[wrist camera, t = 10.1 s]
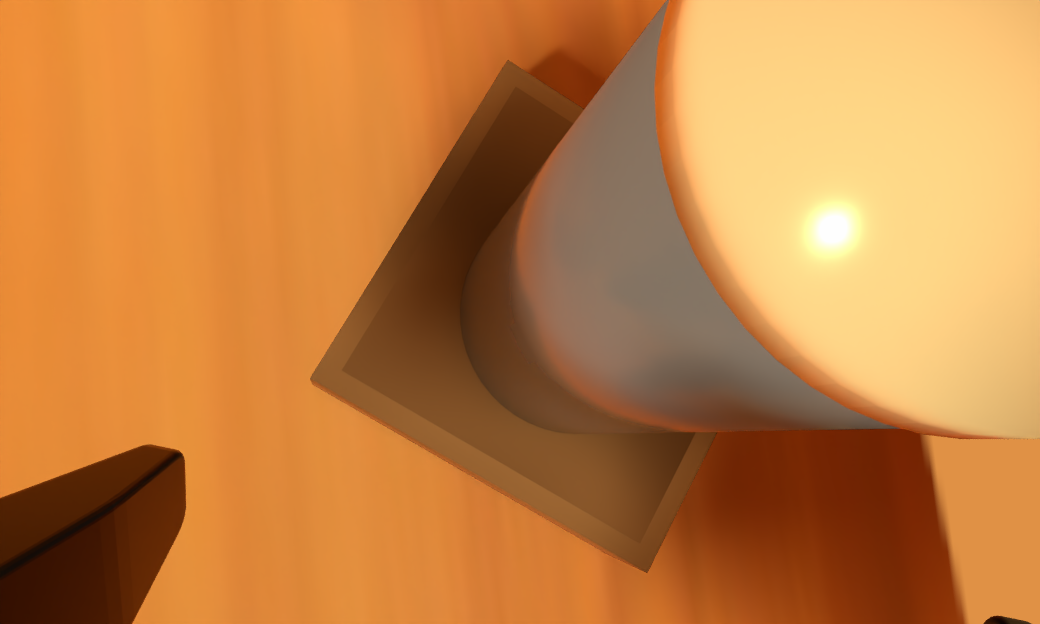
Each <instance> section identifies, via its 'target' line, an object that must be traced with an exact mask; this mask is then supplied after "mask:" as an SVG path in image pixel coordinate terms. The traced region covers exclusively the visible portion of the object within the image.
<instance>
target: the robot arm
mask: <svg viewBox="0 0 1040 624" xmlns="http://www.w3.org/2000/svg"><path fill="white" fill-rule="evenodd" d="M185 510H186V485H185V460H184V456H183V454H182V453H181V452H180V451H178V450H175V449H170V448H165V447H160V446H156V445H143V446H140V447H137V448H134V449H132V450H129V451H126V452H124V453H121V454H118V455H115V456H113V457H110V458H107V459H105V460H102V461H99V462H97V463H94V464H91V465H88V466H86V467H83V468H80V469H78V470H75V471H72V472H70V473H67V474H64V475H61V476H59V477H56V478H53V479H51V480H48V481H45V482H42V483H40V484H37V485H34V486H32V487H29V488H26V489H24V490H21V491H18V492H15V493H13V494H10V495H7V496H5V497H2V498H0V624H132V623H133V621H134V619H135V617H136V615H137V613H138V611H139V609H140V607H141V605H142V604H143V602H144V600H145V598H146V596H147V594H148V592H149V590H150V588H151V586H152V584H153V582H154V580H155V578H156V576H157V574H158V572H159V570H160V568H161V566H162V564H163V562H164V560H165V559H166V557H167V555H168V553H169V551H170V549H171V547H172V545H173V543H174V541H175V539H176V537H177V535H178V533H179V531H180V529H181V526H182V523H183V520H184V516H185ZM984 624H1031V623H1029V622H1026V621H1022V620H1017V619H1012V618H1007V617H1003V616H993V617H990V618H989V619H987V620H986V621H985V622H984Z"/></svg>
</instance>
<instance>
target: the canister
mask: <svg viewBox="0 0 1040 624" xmlns="http://www.w3.org/2000/svg"><path fill="white" fill-rule="evenodd" d="M460 325H461V332H462V338H463V342H464V346H465V349H466V353H467V355H468V358H469V360H470V362H471V365H472V367H473V369H474V371H475V373H476V374H477V376H478V378H479V379H480V381H481V383H482V384H483V385H484V386H485V388H486V389H487V390H488V391H489V393H490V394H491V395H492V396H493V397H494V398H495V399H496V400H497V401H498V402H499V403H500V404H501V405H502V406H503V407H505V408H506V409H507V410H509V411H510V412H511V413H513V414H514V415H515V416H517V417H519V418H521V419H522V420H524V421H526V422H528V423H530V424H532V425H535V426H537V427H540V428H542V429H546V430H550V431H554V432H558V433H566V434H618V433H674V432H730V431H786V430H843V429H899V428H901V429H905V430H909V431H912V432H916V433H920V434H925V435H934V436H941V437H950V438H958V439H1040V0H667V1H666V2H665V3H664V5H663V6H662V7H661V9H660V10H659V11H658V13H657V14H656V15H655V17H654V18H653V19H652V21H651V22H650V23H649V24H648V26H647V27H646V28H645V30H644V31H643V32H642V34H641V35H640V36H639V38H638V39H637V40H636V42H635V43H634V44H633V46H632V47H631V48H630V50H629V51H628V52H627V54H626V55H625V56H624V58H623V59H622V60H621V62H620V63H619V64H618V66H617V67H616V68H615V70H614V71H613V72H612V74H611V75H610V76H609V78H608V79H607V80H606V82H605V83H604V84H603V85H602V87H601V88H600V89H599V91H598V92H597V93H596V95H595V96H594V97H593V99H592V100H591V101H590V103H589V104H588V105H587V107H586V108H585V109H584V111H583V112H582V113H581V115H580V116H579V117H578V119H577V120H576V121H575V123H574V124H573V125H572V127H571V128H570V129H569V131H568V132H567V133H566V135H565V136H564V137H563V139H562V140H561V141H560V143H559V144H558V145H557V147H556V148H555V149H554V150H553V152H552V153H551V154H550V156H549V157H548V158H547V160H546V161H545V162H544V164H543V165H542V166H541V168H540V169H539V170H538V172H537V173H536V174H535V176H534V177H533V178H532V180H531V181H530V182H529V184H528V185H527V186H526V188H525V189H524V190H523V192H522V193H521V194H520V196H519V197H518V198H517V200H516V201H515V202H514V204H513V205H512V206H511V208H510V209H509V210H508V211H507V213H506V214H505V215H504V217H503V218H502V219H501V221H500V222H499V223H498V225H497V226H496V227H495V229H494V230H493V231H492V233H491V234H490V235H489V237H488V238H487V239H486V241H485V242H484V243H483V245H482V246H481V247H480V249H479V250H478V252H477V254H476V255H475V257H474V259H473V261H472V262H471V265H470V267H469V270H468V272H467V275H466V277H465V281H464V285H463V289H462V294H461V303H460Z"/></svg>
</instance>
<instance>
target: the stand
mask: <svg viewBox="0 0 1040 624" xmlns="http://www.w3.org/2000/svg"><path fill="white" fill-rule="evenodd" d="M583 111H584V109H583V108H582V107H580V106H578V105H577V104H575V103H574V102H572V101H571V100H569V99H568V98H566V97H565V96H563V95H561V94H560V93H558V92H557V91H555V90H554V89H552V88H551V87H549V86H548V85H546V84H544V83H543V82H541V81H540V80H538V79H537V78H535V77H534V76H532V75H531V74H529V73H527V72H526V71H524V70H523V69H521V68H520V67H518V66H517V65H515V64H513V63H512V62H510V61H509V60H507V62H506V64H505V65H504V67H503V68H502V70H501V72H500V73H499V75H498V76H497V78H496V80H495V81H494V83H493V84H492V86H491V88H490V89H489V91H488V93H487V94H486V96H485V97H484V99H483V101H482V102H481V104H480V105H479V107H478V109H477V110H476V112H475V113H474V115H473V117H472V118H471V120H470V122H469V123H468V125H467V126H466V128H465V130H464V131H463V133H462V134H461V136H460V138H459V139H458V141H457V142H456V144H455V146H454V147H453V149H452V151H451V152H450V154H449V155H448V157H447V159H446V160H445V162H444V163H443V165H442V167H441V168H440V170H439V171H438V173H437V175H436V176H435V178H434V180H433V181H432V183H431V184H430V186H429V188H428V189H427V191H426V192H425V194H424V196H423V197H422V199H421V200H420V202H419V204H418V205H417V207H416V209H415V210H414V212H413V213H412V215H411V217H410V218H409V220H408V221H407V223H406V225H405V226H404V228H403V229H402V231H401V233H400V234H399V236H398V238H397V239H396V241H395V242H394V244H393V246H392V247H391V249H390V250H389V252H388V254H387V255H386V257H385V258H384V260H383V262H382V263H381V265H380V267H379V268H378V270H377V271H376V273H375V275H374V276H373V278H372V279H371V281H370V283H369V284H368V286H367V287H366V289H365V291H364V292H363V294H362V296H361V297H360V299H359V300H358V302H357V304H356V305H355V307H354V308H353V310H352V312H351V313H350V315H349V316H348V318H347V320H346V321H345V323H344V325H343V326H342V328H341V329H340V331H339V333H338V334H337V336H336V337H335V339H334V341H333V342H332V344H331V345H330V347H329V349H328V350H327V352H326V354H325V355H324V357H323V358H322V360H321V362H320V363H319V365H318V366H317V368H316V370H315V371H314V373H313V374H312V376H311V378H310V379H311V382H312V384H313V385H314V386H316V387H318V388H320V389H321V390H323V391H325V392H327V393H328V394H330V395H332V396H334V397H335V398H337V399H339V400H340V401H342V402H344V403H346V404H347V405H349V406H351V407H353V408H354V409H356V410H358V411H360V412H361V413H363V414H365V415H367V416H368V417H370V418H372V419H373V420H375V421H377V422H379V423H380V424H382V425H384V426H386V427H387V428H389V429H391V430H393V431H394V432H396V433H398V434H399V435H401V436H403V437H405V438H406V439H408V440H410V441H412V442H413V443H415V444H417V445H419V446H420V447H422V448H424V449H426V450H427V451H429V452H431V453H432V454H434V455H436V456H438V457H439V458H441V459H443V460H445V461H446V462H448V463H450V464H452V465H453V466H455V467H457V468H458V469H460V470H462V471H464V472H465V473H467V474H469V475H471V476H472V477H474V478H476V479H478V480H479V481H481V482H483V483H485V484H486V485H488V486H490V487H491V488H493V489H495V490H497V491H498V492H500V493H502V494H504V495H505V496H507V497H509V498H511V499H512V500H514V501H516V502H517V503H519V504H521V505H523V506H524V507H526V508H528V509H530V510H531V511H533V512H535V513H537V514H538V515H540V516H542V517H544V518H545V519H547V520H549V521H550V522H552V523H554V524H556V525H557V526H559V527H561V528H563V529H564V530H566V531H568V532H570V533H571V534H573V535H575V536H577V537H578V538H580V539H582V540H583V541H585V542H587V543H589V544H590V545H592V546H594V547H596V548H597V549H599V550H601V551H603V552H604V553H606V554H608V555H610V556H612V557H614V558H616V559H618V560H621V561H623V562H625V563H627V564H629V565H631V566H633V567H636V568H638V569H640V570H642V571H644V572H646V573H648V571H649V569H650V567H651V564H652V562H653V560H654V558H655V556H656V554H657V552H658V550H659V548H660V546H661V544H662V542H663V540H664V538H665V536H666V534H667V532H668V530H669V528H670V526H671V524H672V522H673V520H674V518H675V516H676V514H677V512H678V510H679V508H680V506H681V504H682V502H683V500H684V498H685V496H686V494H687V492H688V490H689V488H690V486H691V484H692V482H693V480H694V478H695V476H696V474H697V472H698V470H699V468H700V466H701V464H702V462H703V460H704V458H705V456H706V454H707V452H708V450H709V448H710V446H711V444H712V442H713V440H714V438H715V436H716V434H717V432H674V433H618V434H566V433H558V432H554V431H550V430H546V429H542V428H540V427H537V426H535V425H532V424H530V423H528V422H526V421H524V420H522V419H521V418H519V417H517V416H515V415H514V414H513V413H511V412H510V411H509V410H507V409H506V408H505V407H503V406H502V405H501V404H500V403H499V402H498V401H497V400H496V399H495V398H494V397H493V396H492V395H491V394H490V393H489V391H488V390H487V389H486V388H485V386H484V385H483V384H482V383H481V381H480V379H479V378H478V376H477V374H476V373H475V371H474V369H473V367H472V365H471V362H470V360H469V358H468V355H467V353H466V349H465V346H464V342H463V338H462V332H461V325H460V303H461V294H462V289H463V285H464V281H465V277H466V275H467V272H468V270H469V267H470V265H471V262H472V261H473V259H474V257H475V255H476V254H477V252H478V250H479V249H480V247H481V246H482V245H483V243H484V242H485V241H486V239H487V238H488V237H489V235H490V234H491V233H492V231H493V230H494V229H495V227H496V226H497V225H498V223H499V222H500V221H501V219H502V218H503V217H504V215H505V214H506V213H507V211H508V210H509V209H510V208H511V206H512V205H513V204H514V202H515V201H516V200H517V198H518V197H519V196H520V194H521V193H522V192H523V190H524V189H525V188H526V186H527V185H528V184H529V182H530V181H531V180H532V178H533V177H534V176H535V174H536V173H537V172H538V170H539V169H540V168H541V166H542V165H543V164H544V162H545V161H546V160H547V158H548V157H549V156H550V154H551V153H552V152H553V150H554V149H555V148H556V147H557V145H558V144H559V143H560V141H561V140H562V139H563V137H564V136H565V135H566V133H567V132H568V131H569V129H570V128H571V127H572V125H573V124H574V123H575V121H576V120H577V119H578V117H579V116H580V115H581V113H582V112H583Z"/></svg>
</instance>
